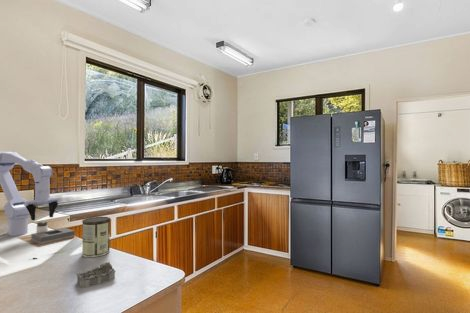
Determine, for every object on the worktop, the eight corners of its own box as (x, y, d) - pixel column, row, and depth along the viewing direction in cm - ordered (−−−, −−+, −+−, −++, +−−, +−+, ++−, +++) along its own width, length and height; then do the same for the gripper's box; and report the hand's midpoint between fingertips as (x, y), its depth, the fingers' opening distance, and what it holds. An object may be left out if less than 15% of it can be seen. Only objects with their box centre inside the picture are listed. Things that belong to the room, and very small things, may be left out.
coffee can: (92, 248, 117) (92, 216, 117) (114, 249, 116) (115, 216, 116) (75, 256, 107) (76, 221, 107) (100, 258, 106) (100, 222, 106)
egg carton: (110, 272, 93) (111, 261, 93) (116, 280, 87) (117, 268, 87) (75, 281, 86) (75, 268, 86) (79, 290, 80) (79, 276, 81)
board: (16, 239, 128) (16, 237, 128) (55, 231, 142) (56, 229, 142) (38, 249, 115) (38, 247, 115) (79, 239, 129) (79, 237, 129)
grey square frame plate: (40, 244, 118) (41, 237, 118) (31, 240, 123) (31, 233, 123) (74, 237, 130) (74, 230, 130) (64, 233, 135) (64, 227, 135)
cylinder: (34, 236, 130) (35, 222, 130) (45, 234, 134) (45, 221, 134) (38, 237, 128) (39, 223, 128) (49, 235, 132) (49, 222, 132)
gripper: (28, 192, 123) (28, 222, 123) (62, 189, 135) (62, 216, 135) (22, 191, 127) (21, 220, 126) (55, 189, 139) (55, 215, 139)
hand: (42, 218), depth 131 cm, fingers open, 7 cm apart
